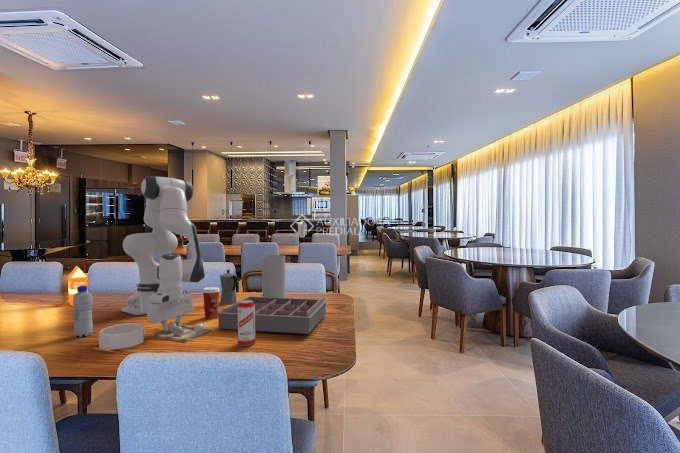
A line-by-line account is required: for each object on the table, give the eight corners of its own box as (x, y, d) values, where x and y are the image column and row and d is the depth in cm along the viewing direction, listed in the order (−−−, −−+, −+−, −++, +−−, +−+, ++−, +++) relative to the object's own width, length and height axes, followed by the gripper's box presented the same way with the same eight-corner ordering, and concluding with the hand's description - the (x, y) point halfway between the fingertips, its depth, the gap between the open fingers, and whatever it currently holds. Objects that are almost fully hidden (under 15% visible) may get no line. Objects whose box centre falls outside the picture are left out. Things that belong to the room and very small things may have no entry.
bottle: (78, 339, 144) (77, 287, 144) (69, 336, 148) (68, 286, 147) (96, 334, 150) (95, 284, 150) (88, 331, 154) (87, 283, 153)
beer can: (239, 341, 142) (239, 299, 142) (256, 340, 143) (256, 299, 142) (236, 347, 136) (236, 303, 136) (254, 346, 137) (253, 303, 136)
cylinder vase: (274, 304, 201) (274, 258, 200) (257, 301, 207) (257, 256, 207) (289, 300, 211) (289, 255, 210) (273, 297, 218) (273, 254, 217)
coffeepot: (214, 301, 207) (214, 269, 206) (230, 299, 213) (230, 267, 213) (228, 306, 196) (227, 272, 195) (244, 303, 202) (244, 270, 202)
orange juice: (85, 300, 210) (84, 265, 209) (88, 303, 203) (87, 266, 203) (68, 302, 205) (67, 266, 204) (70, 305, 198) (69, 268, 198)
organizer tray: (248, 312, 185) (248, 292, 185) (327, 316, 178) (327, 295, 178) (215, 332, 154) (215, 308, 154) (310, 338, 147) (310, 312, 146)
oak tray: (150, 337, 146) (150, 333, 146) (178, 327, 159) (178, 324, 159) (186, 343, 140) (186, 339, 140) (212, 332, 153) (212, 328, 153)
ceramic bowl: (91, 347, 136) (90, 332, 136) (126, 335, 149) (125, 322, 149) (118, 352, 131) (118, 337, 130) (152, 340, 144) (151, 325, 143)
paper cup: (214, 321, 170) (214, 290, 169) (199, 320, 171) (199, 289, 171) (223, 316, 177) (223, 286, 177) (208, 315, 179) (208, 286, 178)
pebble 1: (164, 333, 151) (163, 323, 150) (171, 330, 154) (171, 320, 154) (171, 334, 149) (171, 324, 149) (179, 331, 153) (179, 321, 153)
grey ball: (170, 337, 145) (170, 327, 145) (178, 334, 149) (178, 324, 149) (178, 338, 144) (178, 328, 144) (186, 335, 148) (186, 325, 147)
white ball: (191, 334, 149) (191, 324, 149) (199, 331, 153) (199, 321, 153) (199, 335, 148) (199, 325, 147) (207, 332, 151) (206, 322, 151)
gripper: (184, 288, 162) (185, 320, 162) (144, 298, 143) (144, 334, 143) (196, 290, 160) (196, 322, 160) (156, 300, 141) (156, 336, 141)
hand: (171, 328), depth 152 cm, fingers closed on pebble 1, 4 cm apart
